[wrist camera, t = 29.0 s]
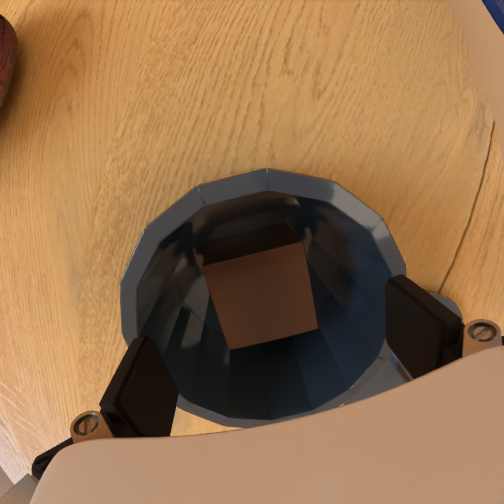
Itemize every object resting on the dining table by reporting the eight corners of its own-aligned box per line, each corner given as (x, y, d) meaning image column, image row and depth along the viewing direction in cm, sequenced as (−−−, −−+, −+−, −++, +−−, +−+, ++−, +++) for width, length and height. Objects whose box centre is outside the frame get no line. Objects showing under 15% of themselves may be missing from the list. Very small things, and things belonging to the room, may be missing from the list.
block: (286, 222, 19) (303, 241, 14) (300, 292, 20) (318, 328, 15) (210, 241, 19) (201, 266, 14) (230, 309, 20) (228, 350, 15)
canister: (328, 153, 18) (392, 145, 10) (353, 320, 21) (402, 389, 13) (142, 200, 18) (78, 223, 10) (197, 357, 22) (182, 441, 13)
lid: (462, 270, 21) (507, 296, 15) (447, 379, 25) (474, 411, 19) (326, 316, 21) (354, 365, 15) (338, 423, 25) (354, 469, 19)
